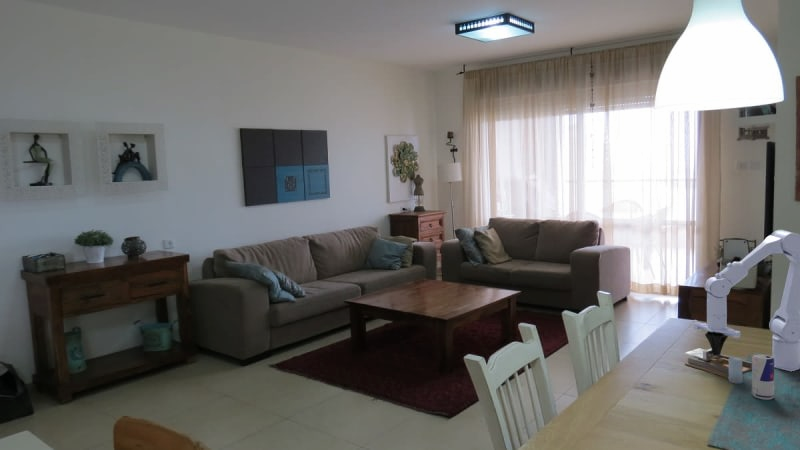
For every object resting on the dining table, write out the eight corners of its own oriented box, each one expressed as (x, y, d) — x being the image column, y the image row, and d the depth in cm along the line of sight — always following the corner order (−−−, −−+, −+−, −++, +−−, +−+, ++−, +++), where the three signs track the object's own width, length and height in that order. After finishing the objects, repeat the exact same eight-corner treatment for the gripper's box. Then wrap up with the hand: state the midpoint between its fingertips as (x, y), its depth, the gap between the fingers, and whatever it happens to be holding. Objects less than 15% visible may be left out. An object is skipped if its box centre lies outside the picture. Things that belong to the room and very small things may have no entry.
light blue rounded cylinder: (733, 378, 181) (733, 356, 180) (744, 381, 178) (744, 359, 177) (726, 380, 179) (726, 358, 178) (737, 384, 176) (737, 361, 175)
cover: (698, 349, 201) (698, 341, 201) (721, 355, 194) (721, 347, 194) (684, 354, 197) (684, 346, 197) (706, 360, 191) (706, 351, 190)
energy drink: (777, 400, 163) (777, 359, 162) (756, 400, 164) (756, 358, 163) (769, 393, 168) (769, 352, 167) (748, 392, 169) (749, 352, 168)
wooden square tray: (711, 356, 201) (711, 350, 201) (755, 368, 188) (755, 361, 187) (685, 365, 194) (685, 358, 194) (729, 378, 181) (729, 371, 181)
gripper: (688, 311, 194) (688, 351, 196) (731, 320, 182) (731, 362, 183) (701, 308, 198) (701, 347, 199) (744, 316, 185) (744, 358, 186)
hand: (716, 354), depth 191 cm, fingers closed
